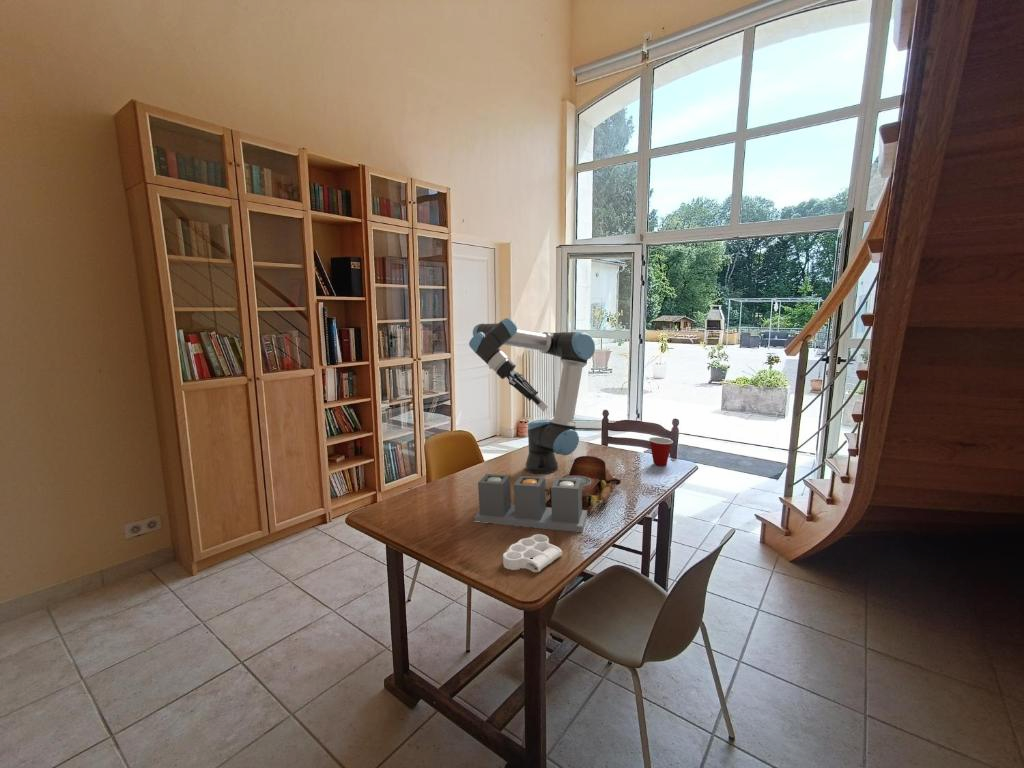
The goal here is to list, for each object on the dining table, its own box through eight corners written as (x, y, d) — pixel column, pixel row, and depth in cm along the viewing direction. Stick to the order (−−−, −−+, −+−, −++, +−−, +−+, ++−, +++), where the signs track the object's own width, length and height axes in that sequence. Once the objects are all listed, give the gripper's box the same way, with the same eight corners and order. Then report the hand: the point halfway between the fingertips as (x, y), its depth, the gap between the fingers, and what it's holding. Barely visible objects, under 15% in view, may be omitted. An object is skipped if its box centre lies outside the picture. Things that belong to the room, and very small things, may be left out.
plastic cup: (676, 467, 210) (676, 442, 208) (652, 468, 210) (652, 442, 208) (668, 460, 220) (668, 436, 219) (645, 461, 221) (645, 436, 219)
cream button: (558, 497, 155) (558, 485, 155) (560, 491, 160) (560, 480, 159) (573, 498, 154) (572, 486, 153) (575, 492, 159) (575, 481, 158)
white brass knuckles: (531, 580, 125) (492, 563, 134) (568, 553, 138) (530, 539, 148) (531, 569, 124) (491, 552, 134) (568, 543, 138) (530, 529, 147)
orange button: (521, 494, 159) (520, 483, 158) (524, 489, 164) (524, 478, 163) (535, 495, 158) (535, 484, 157) (538, 490, 162) (538, 479, 162)
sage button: (485, 492, 162) (485, 481, 162) (490, 487, 167) (489, 476, 167) (499, 493, 161) (498, 482, 161) (503, 487, 166) (503, 477, 165)
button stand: (474, 522, 161) (472, 484, 159) (486, 507, 173) (484, 471, 171) (582, 532, 150) (581, 491, 149) (587, 515, 163) (586, 477, 161)
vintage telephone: (626, 454, 193) (598, 487, 158) (626, 482, 195) (598, 520, 160) (571, 449, 204) (534, 478, 169) (572, 475, 206) (535, 509, 171)
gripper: (501, 370, 183) (543, 412, 181) (490, 374, 170) (535, 419, 168) (513, 356, 181) (556, 399, 178) (503, 360, 168) (549, 405, 166)
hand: (546, 408), depth 173 cm, fingers closed
